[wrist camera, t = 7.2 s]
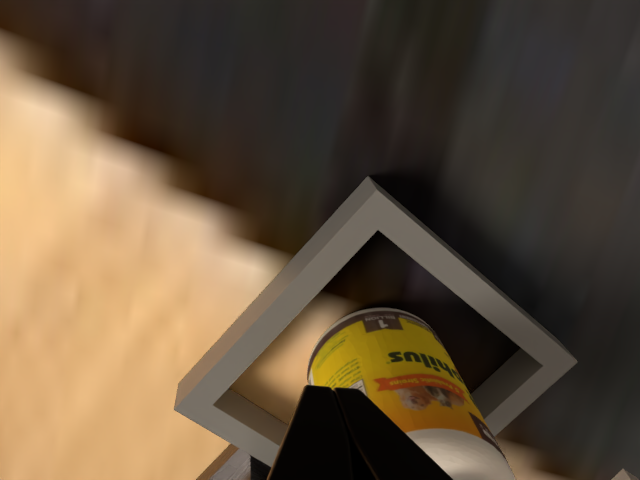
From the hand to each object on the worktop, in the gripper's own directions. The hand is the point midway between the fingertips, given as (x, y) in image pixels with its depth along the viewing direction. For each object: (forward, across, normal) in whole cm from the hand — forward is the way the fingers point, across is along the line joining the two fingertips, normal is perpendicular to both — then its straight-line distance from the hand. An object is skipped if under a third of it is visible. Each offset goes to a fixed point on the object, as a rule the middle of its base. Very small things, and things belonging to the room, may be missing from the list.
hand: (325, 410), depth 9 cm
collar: (+13, -5, +7) cm, 15 cm away
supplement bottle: (+13, -5, +7) cm, 15 cm away
